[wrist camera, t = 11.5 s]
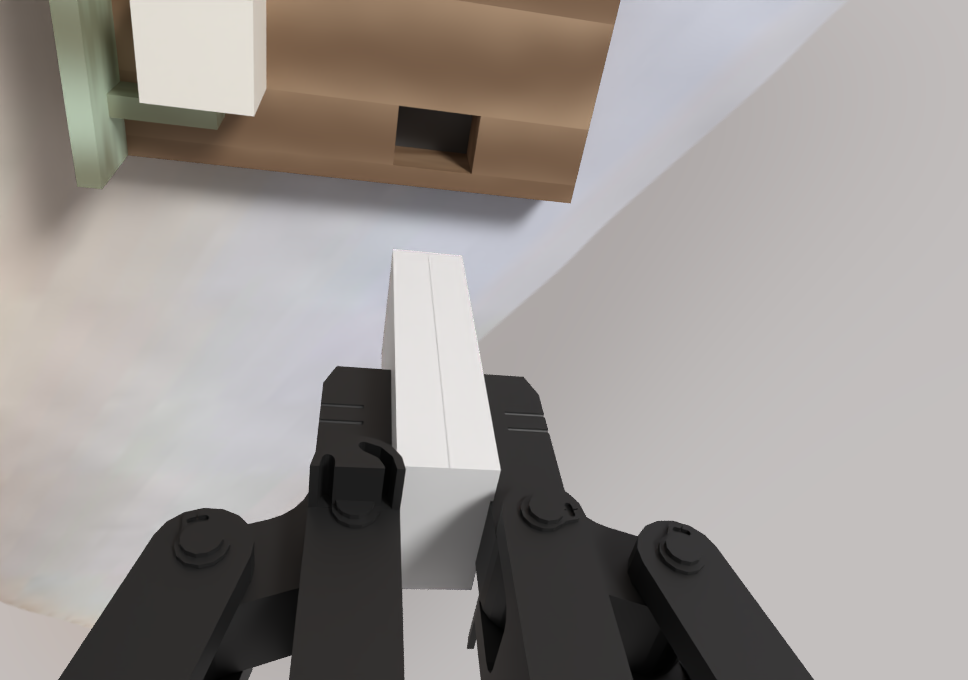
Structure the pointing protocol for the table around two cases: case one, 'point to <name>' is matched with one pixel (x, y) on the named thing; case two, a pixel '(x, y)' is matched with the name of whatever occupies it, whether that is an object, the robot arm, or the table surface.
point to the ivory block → (201, 53)
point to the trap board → (362, 94)
